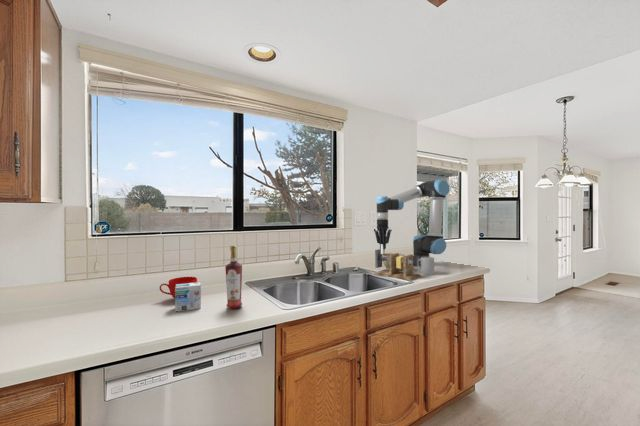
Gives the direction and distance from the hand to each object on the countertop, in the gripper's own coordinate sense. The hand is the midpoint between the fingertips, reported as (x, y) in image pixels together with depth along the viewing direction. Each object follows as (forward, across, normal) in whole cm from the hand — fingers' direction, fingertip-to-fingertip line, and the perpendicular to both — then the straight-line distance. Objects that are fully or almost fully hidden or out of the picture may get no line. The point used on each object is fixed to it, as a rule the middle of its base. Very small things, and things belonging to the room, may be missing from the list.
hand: (382, 253), depth 202 cm
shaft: (+9, +8, 0) cm, 13 cm away
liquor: (+14, -14, -105) cm, 107 cm away
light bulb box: (+14, -29, -119) cm, 123 cm away
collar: (+8, +14, 0) cm, 16 cm away
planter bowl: (+14, -1, +16) cm, 21 cm away
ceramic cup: (+14, -45, -117) cm, 126 cm away
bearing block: (+13, +10, 0) cm, 17 cm away
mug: (+14, +22, +18) cm, 31 cm away
